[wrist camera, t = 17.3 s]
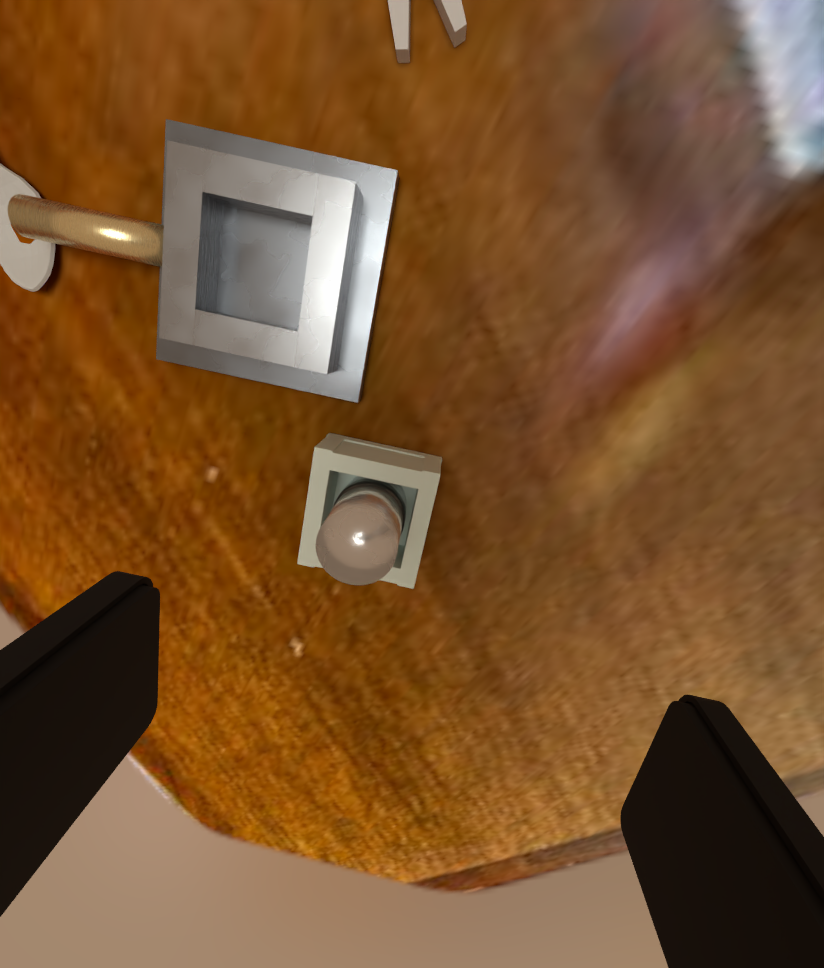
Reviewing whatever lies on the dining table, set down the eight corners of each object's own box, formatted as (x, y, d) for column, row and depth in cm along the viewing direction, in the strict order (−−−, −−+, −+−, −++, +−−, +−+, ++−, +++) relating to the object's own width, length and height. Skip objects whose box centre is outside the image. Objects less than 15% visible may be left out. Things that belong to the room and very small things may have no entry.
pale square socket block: (442, 457, 29) (442, 474, 25) (418, 559, 31) (415, 589, 28) (329, 432, 29) (312, 446, 25) (312, 536, 31) (295, 563, 28)
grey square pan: (399, 178, 25) (393, 152, 22) (360, 400, 29) (350, 408, 25) (58, 102, 25) (-4, 64, 21) (62, 335, 28) (10, 334, 25)
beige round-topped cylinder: (414, 477, 29) (406, 518, 22) (401, 538, 30) (390, 594, 23) (347, 463, 29) (319, 500, 22) (337, 525, 30) (308, 577, 23)
